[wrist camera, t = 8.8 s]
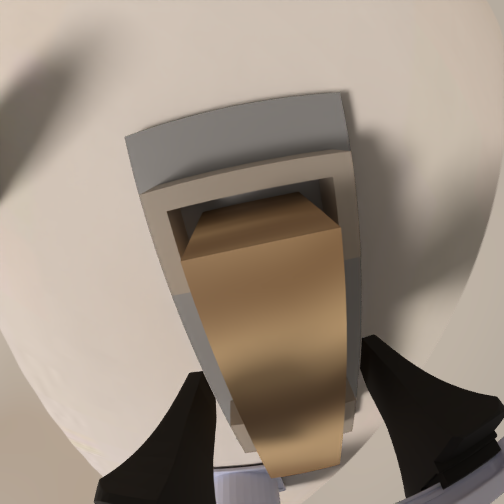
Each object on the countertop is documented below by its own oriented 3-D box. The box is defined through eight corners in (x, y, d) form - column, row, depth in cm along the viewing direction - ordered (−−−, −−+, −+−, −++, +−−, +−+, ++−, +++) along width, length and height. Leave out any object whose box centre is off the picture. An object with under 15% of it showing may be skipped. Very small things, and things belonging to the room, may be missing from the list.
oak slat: (322, 403, 17) (339, 464, 12) (264, 415, 17) (270, 478, 12) (298, 191, 11) (341, 227, 7) (202, 212, 11) (180, 261, 7)
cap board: (350, 415, 19) (359, 441, 16) (240, 437, 19) (241, 466, 16) (333, 94, 10) (359, 84, 8) (131, 137, 11) (103, 137, 8)
